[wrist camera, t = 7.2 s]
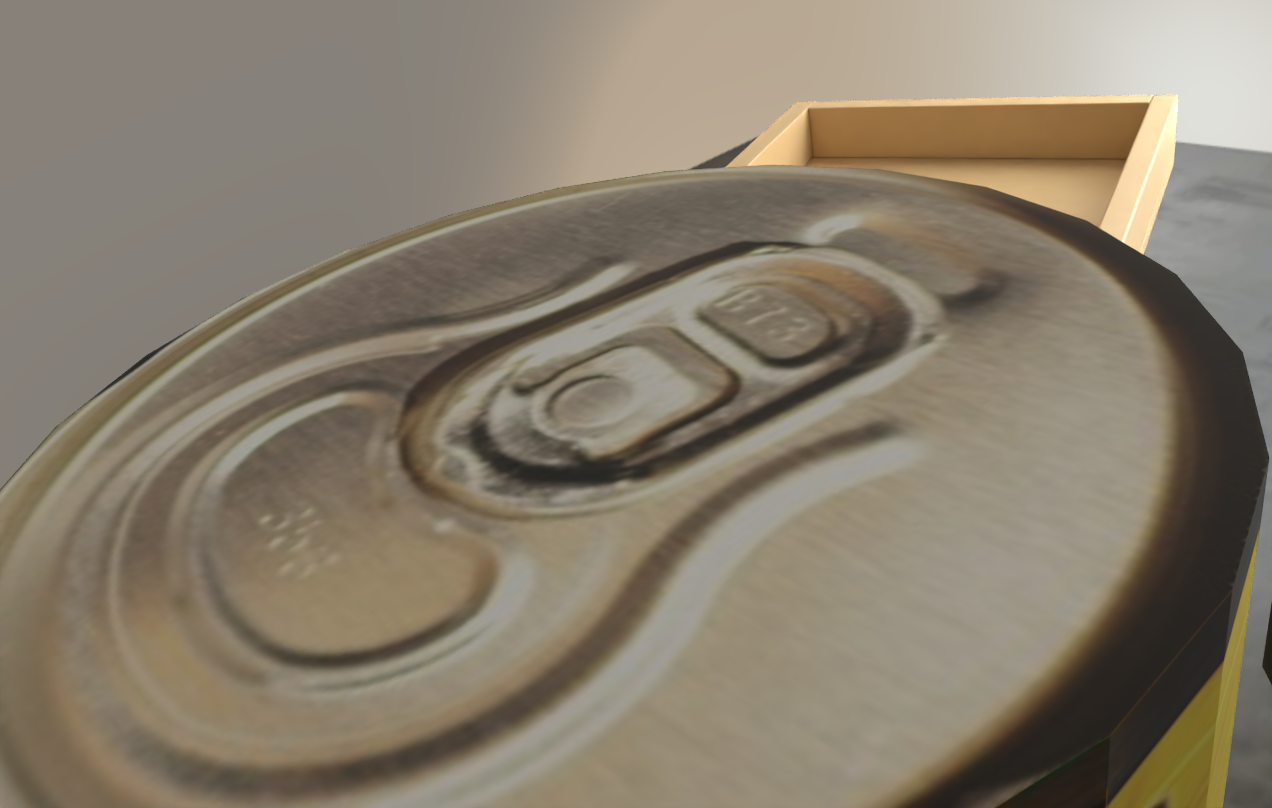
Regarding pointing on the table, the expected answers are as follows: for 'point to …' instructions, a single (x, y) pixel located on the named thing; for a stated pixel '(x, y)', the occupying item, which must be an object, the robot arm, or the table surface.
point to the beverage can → (653, 519)
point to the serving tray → (999, 149)
